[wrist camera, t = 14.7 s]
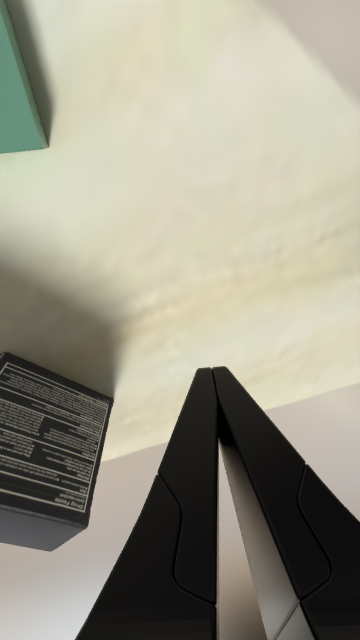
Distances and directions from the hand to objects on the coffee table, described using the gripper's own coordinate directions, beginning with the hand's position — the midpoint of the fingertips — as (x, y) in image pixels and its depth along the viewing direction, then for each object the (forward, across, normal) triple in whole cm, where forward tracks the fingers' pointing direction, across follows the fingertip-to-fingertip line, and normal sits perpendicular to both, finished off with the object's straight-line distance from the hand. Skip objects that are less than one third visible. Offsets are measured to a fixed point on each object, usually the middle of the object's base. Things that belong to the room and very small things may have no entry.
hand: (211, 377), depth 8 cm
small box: (+12, +14, +13) cm, 23 cm away
